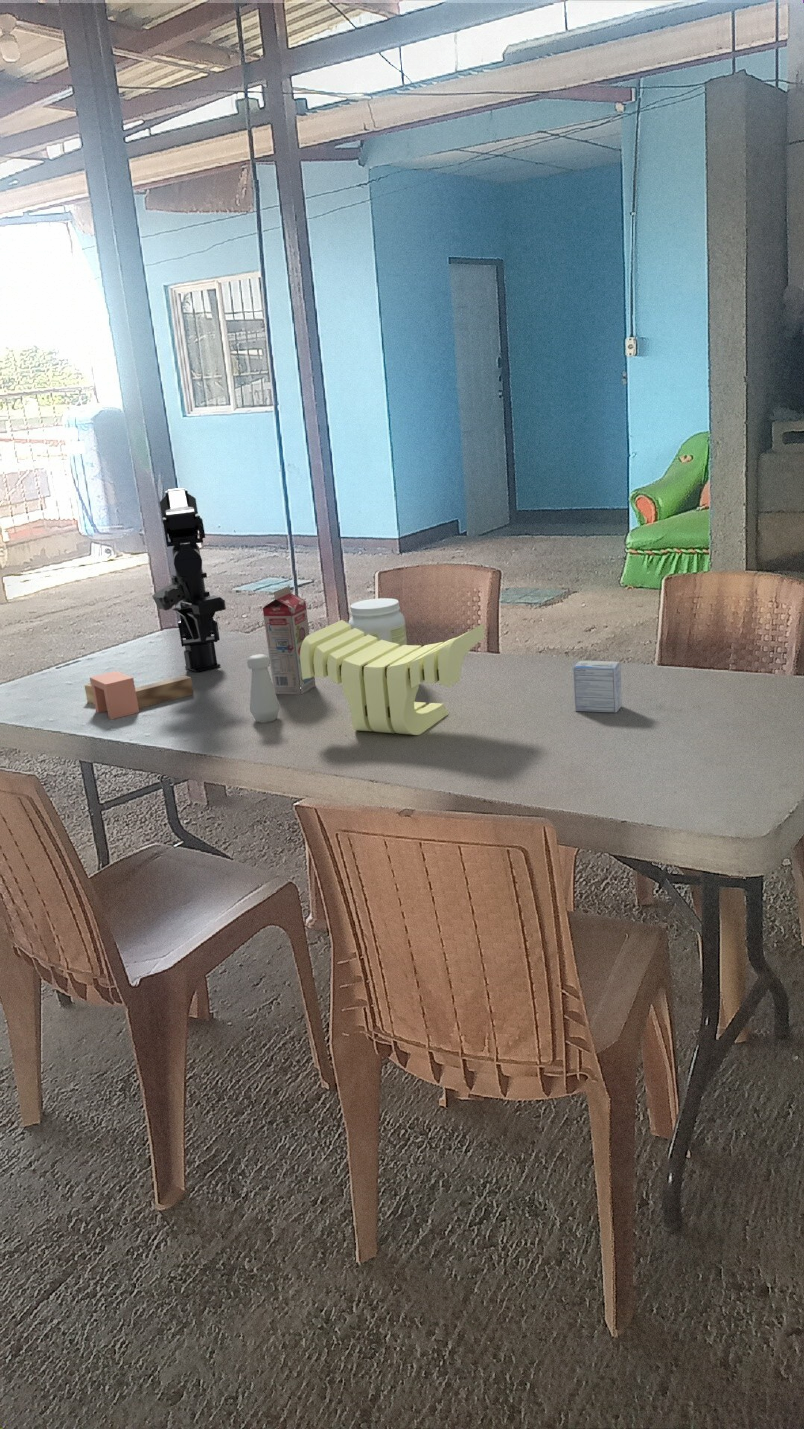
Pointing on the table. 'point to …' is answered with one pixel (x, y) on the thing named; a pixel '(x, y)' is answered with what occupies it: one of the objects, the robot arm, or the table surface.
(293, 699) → the table surface
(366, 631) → the supplement tub
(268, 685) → the salt shaker
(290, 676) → the juice carton
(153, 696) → the wooden plank
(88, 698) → the wooden cube
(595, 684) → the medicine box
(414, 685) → the slatted curved stool
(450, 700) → the table surface
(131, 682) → the arch block
